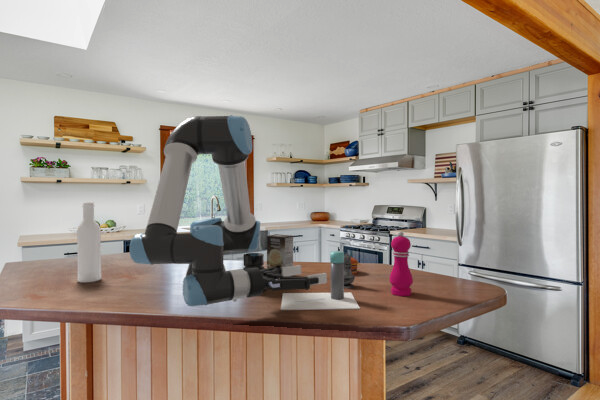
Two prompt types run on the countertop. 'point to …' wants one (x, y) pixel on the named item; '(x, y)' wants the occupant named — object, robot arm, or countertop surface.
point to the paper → (317, 301)
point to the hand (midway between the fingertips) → (312, 273)
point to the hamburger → (354, 266)
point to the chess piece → (348, 272)
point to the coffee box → (279, 250)
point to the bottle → (88, 246)
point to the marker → (337, 275)
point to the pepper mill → (401, 266)
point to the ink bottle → (254, 261)
